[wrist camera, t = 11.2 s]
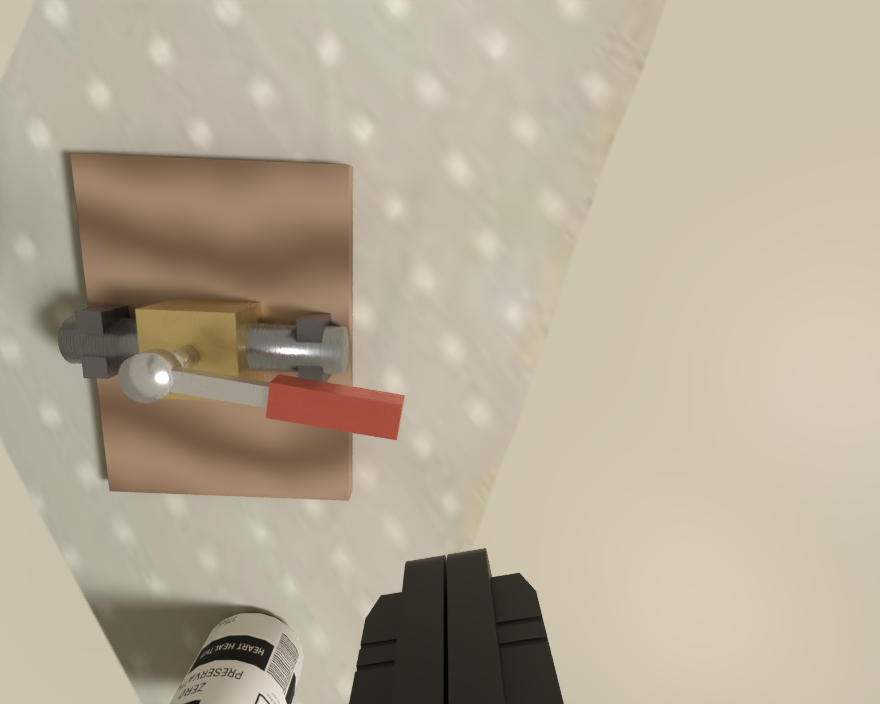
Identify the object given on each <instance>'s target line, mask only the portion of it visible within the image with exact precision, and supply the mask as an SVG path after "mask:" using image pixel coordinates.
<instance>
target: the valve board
mask: <svg viewBox="0 0 880 704" xmlns="http://www.w3.org/2000/svg"><path fill="white" fill-rule="evenodd" d="M70 156H71V165H72V173H73V182H74V190H75V199H76V208H77V216H78V225H79V233H80V242H81V250H82V259H83V268H84V276H85V285H86V293H87V302H88V308H92V307H96V306H100V305H105V304H108V305H128V306H129V317H130V318H136V313H135V309H137V308H141V307H145V306H148V305H152V304H156V303H159V302H163V301H167V300H171V299H197V300H222V301H246V302H262V323H264V324H289V325H297V323H296V320H298V319H299V318H301V317H302V316H304V315H305V314H307V313H329V314H331V323H332V326H338V327H346V328H347V330H348V337H349V354H348V364H347V369H346V372H345V374H332V375H331V377H330V378H329V379H328V381H327V382H328V383H334V384H340V385H346V386H352V286H353V167H352V166H350V165H347V164H323V163H299V162H275V161H251V160H227V159H203V158H179V157H155V156H131V155H107V154H83V153H70ZM278 374H281V375H287V376H293V377H298V373H294V372H269V371H264V378H265V380H264V381H267V382H271V381H272V380H273V379H274V378H275V377H276V376H277V375H278ZM96 379H97V387H98V396H99V405H100V413H101V422H102V430H103V439H104V447H105V456H106V465H107V473H108V482H109V490H110V491H119V492H144V493H169V494H194V495H220V496H245V497H270V498H295V499H320V500H346V501H349V499H350V496H351V493H352V433H351V432H345V431H339V430H333V429H327V428H321V427H315V426H309V425H303V424H297V423H291V422H285V421H279V420H273V419H268V418H266V411H267V408H262V407H256V406H251V405H245V404H239V403H233V402H227V401H210V400H185V399H159V400H158V401H155V402H152V403H140V402H137V401H135V400H133V399H131V398H130V397H128V396H127V395H126V394H125V393H124V391H123V390H122V388H121V387H120V384H119V380H118V375H116V376H113V377H111V378H109V379H99V378H96Z"/></svg>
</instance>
